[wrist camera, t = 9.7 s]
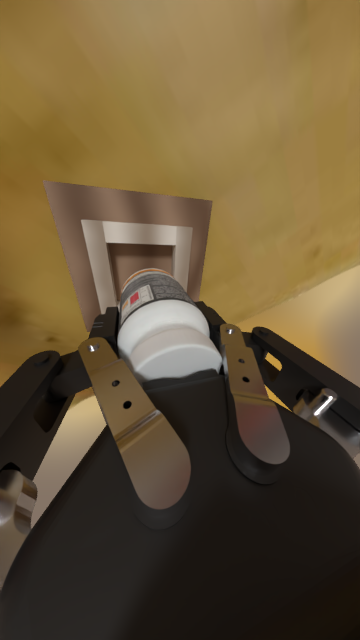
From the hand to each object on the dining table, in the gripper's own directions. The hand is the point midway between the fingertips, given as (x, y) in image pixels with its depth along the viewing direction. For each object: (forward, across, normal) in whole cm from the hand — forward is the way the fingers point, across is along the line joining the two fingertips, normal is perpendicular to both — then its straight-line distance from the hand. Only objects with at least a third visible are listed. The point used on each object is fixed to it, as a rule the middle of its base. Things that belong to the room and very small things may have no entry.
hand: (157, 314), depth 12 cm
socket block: (+14, 0, 0) cm, 14 cm away
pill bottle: (+4, 0, 0) cm, 4 cm away
